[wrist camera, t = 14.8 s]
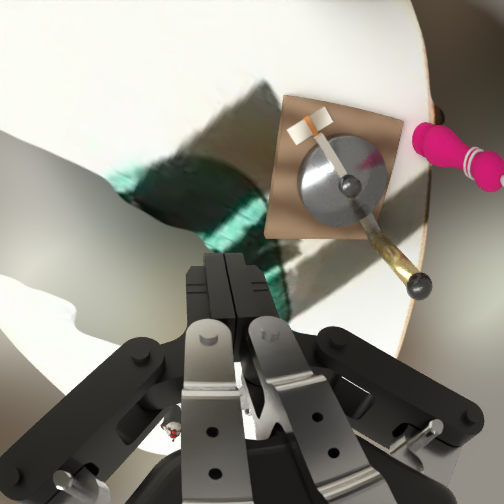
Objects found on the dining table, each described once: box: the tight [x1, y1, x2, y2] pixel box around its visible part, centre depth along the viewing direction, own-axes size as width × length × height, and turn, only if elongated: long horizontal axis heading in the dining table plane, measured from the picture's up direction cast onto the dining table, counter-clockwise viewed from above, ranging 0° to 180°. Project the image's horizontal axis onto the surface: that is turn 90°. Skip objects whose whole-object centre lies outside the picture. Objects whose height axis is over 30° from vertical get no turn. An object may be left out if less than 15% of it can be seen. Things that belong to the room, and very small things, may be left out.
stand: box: [264, 95, 404, 239], centre depth 44 cm, size 22×20×2 cm
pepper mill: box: [412, 122, 504, 192], centre depth 35 cm, size 7×7×20 cm
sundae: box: [160, 404, 181, 442], centre depth 63 cm, size 7×7×15 cm
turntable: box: [297, 133, 432, 300], centre depth 37 cm, size 24×14×17 cm, turn 38°
